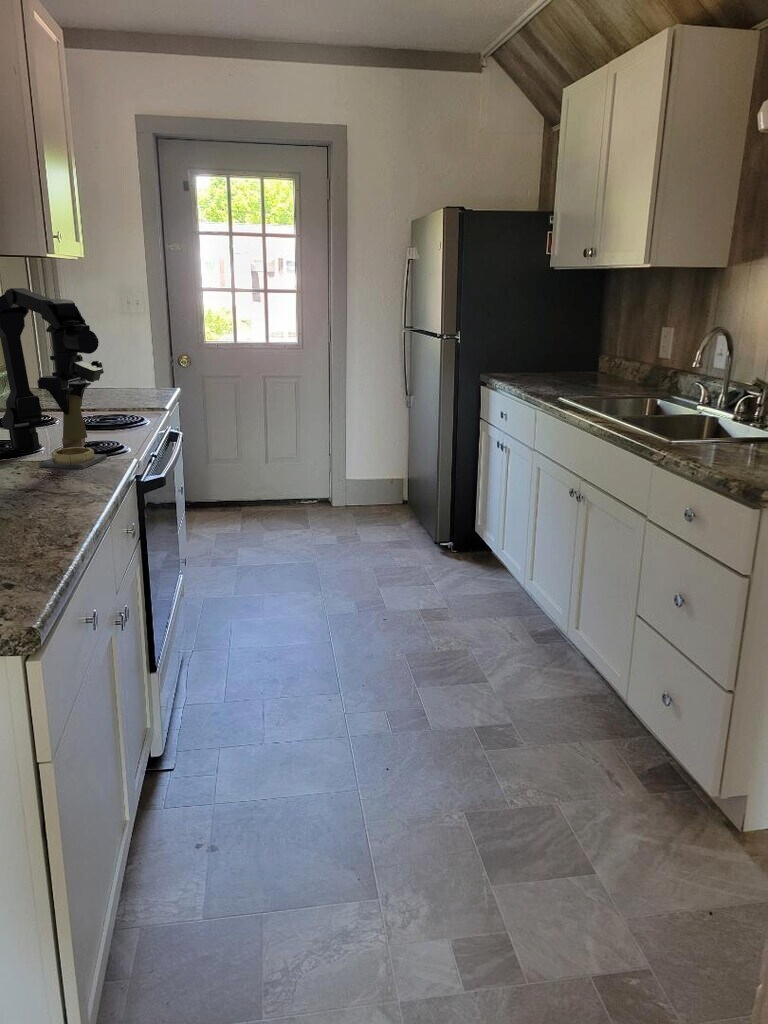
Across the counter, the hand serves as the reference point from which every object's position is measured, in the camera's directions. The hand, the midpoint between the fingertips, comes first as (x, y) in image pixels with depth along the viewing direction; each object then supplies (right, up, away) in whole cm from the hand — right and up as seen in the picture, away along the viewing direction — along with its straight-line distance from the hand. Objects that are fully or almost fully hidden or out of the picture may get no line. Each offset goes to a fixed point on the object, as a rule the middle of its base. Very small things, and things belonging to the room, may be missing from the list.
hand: (72, 412), depth 197 cm
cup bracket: (-1, -13, +3) cm, 13 cm away
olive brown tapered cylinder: (0, -6, +2) cm, 7 cm away
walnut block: (-6, -8, +17) cm, 20 cm away
